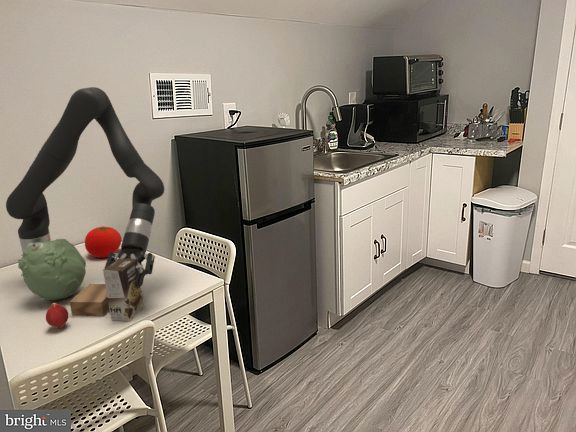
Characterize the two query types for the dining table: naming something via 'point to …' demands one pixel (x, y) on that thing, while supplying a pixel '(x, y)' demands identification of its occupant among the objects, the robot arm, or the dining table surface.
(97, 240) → the tomato
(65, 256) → the cabbage
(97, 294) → the walnut box
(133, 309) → the coffee box
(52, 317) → the onion
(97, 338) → the dining table surface
